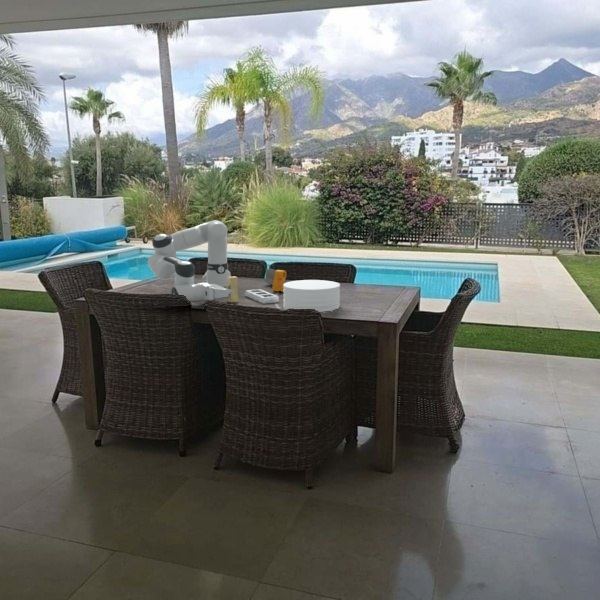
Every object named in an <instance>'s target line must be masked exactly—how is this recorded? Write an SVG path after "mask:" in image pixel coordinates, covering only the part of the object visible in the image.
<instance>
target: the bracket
mask: <svg viewBox="0 0 600 600" xmlns="http://www.w3.org/2000/svg"><path fill="white" fill-rule="evenodd" d="M275 270H276V271H275V275H274V281H273V285H272V290H271V291H273V292H276V293H277V292H279V291H281V292H279V293H283V289H284V288H283V284H284V283H286V281H285V282H284V280H285V279H286V278H287V270H282V269H275Z"/></svg>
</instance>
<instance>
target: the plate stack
mask: <svg viewBox="0 0 600 600" xmlns="http://www.w3.org/2000/svg"><path fill="white" fill-rule="evenodd" d="M283 288H284V289H283V292H282V293H283V296H282V297H283V301H282V302H283V309H284V310H286V309H288V308H294V309H315V310H318V311H328V310H334V309H337V308H339V307H340V308H341V304H340V303H341V294H340V293H341V289H340V288H341V284H340V283H339V282H336V281H331V280H324V279H323V280H321V279H303V280H302V279H300V280H292V281H287V282H285V283H284V284H283ZM340 308H339V309H340Z"/></svg>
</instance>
